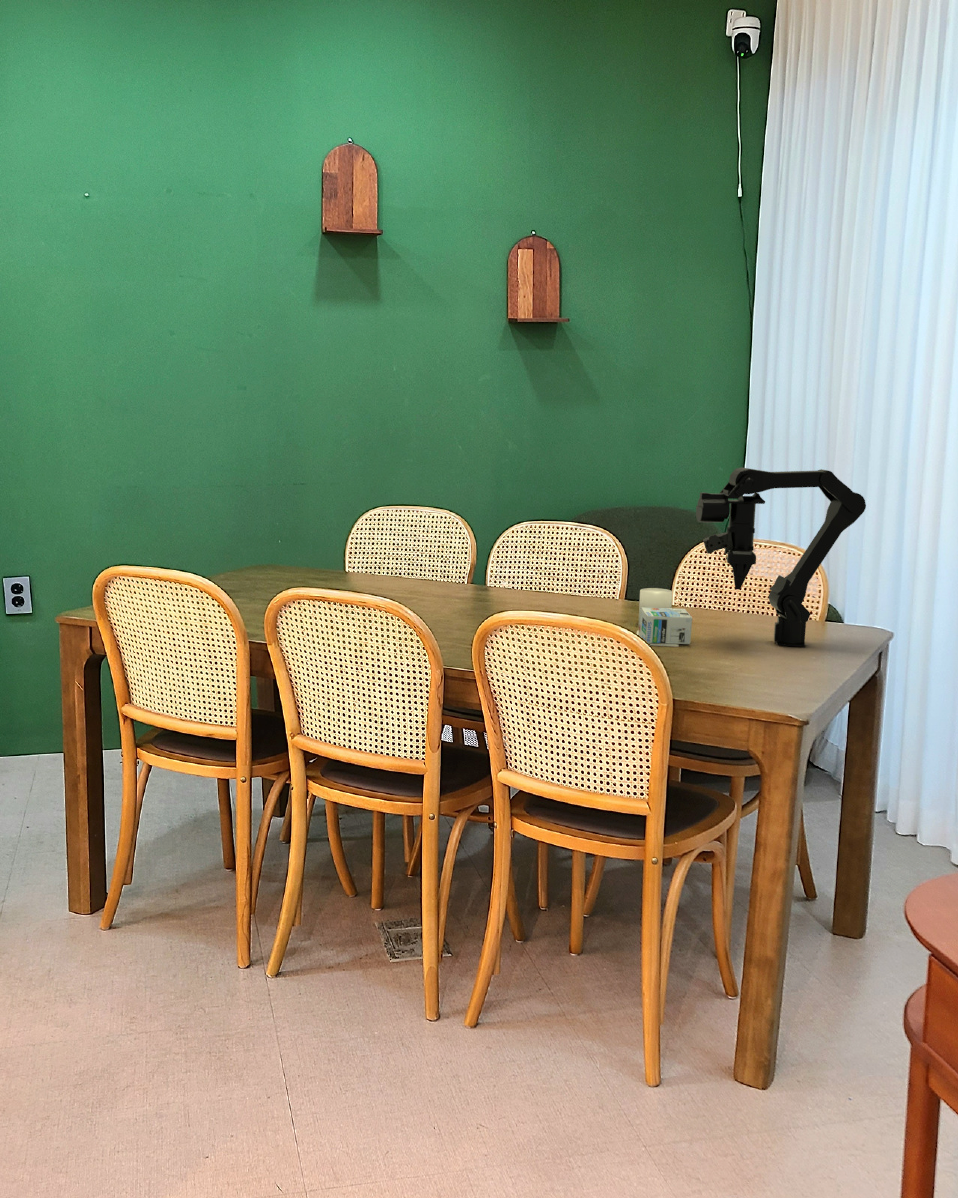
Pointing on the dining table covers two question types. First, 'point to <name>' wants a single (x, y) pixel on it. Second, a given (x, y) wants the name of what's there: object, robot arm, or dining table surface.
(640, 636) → the mat
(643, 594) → the cream rounded cylinder
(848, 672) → the dining table surface
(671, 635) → the light bulb box
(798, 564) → the robot arm
